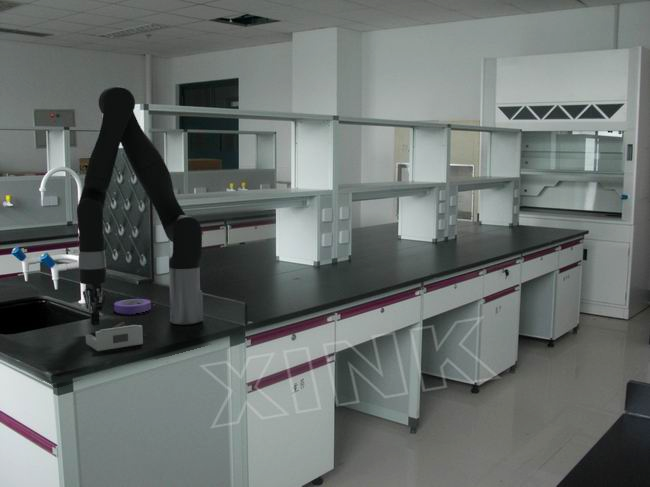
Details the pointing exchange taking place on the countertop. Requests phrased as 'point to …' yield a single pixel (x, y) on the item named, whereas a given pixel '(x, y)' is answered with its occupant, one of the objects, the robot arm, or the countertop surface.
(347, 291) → the countertop surface
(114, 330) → the dock
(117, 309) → the masking tape
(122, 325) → the mineral rock
